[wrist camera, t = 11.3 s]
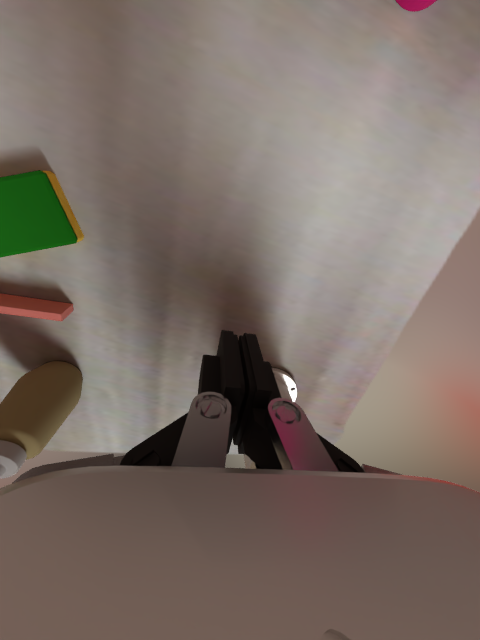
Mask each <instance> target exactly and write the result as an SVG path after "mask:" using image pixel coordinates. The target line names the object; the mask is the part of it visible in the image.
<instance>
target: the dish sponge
mask: <svg viewBox="0 0 480 640" xmlns="http://www.w3.org/2000/svg"><path fill="white" fill-rule="evenodd" d="M83 238H84V235H83V233H82V231H81V229H80V227H79V225H78V222H77V220H76V218H75V216H74V214H73V212H72V210H71V207H70V205H69V203H68V201H67V199H66V197H65V195H64V193H63V190H62V188H61V186H60V184H59V182H58V180H57V178H56V176H55V174H54V173H52V172H51V171H41V170H38V171H33V172H28V173H22V174H17V175H11V176H6V177H0V257H5V256H10V255H15V254H21V253H26V252H31V251H37V250H42V249H47V248H53V247H58V246H63V245H69V244H74V243H76V242H79V241H81V240H83Z"/></svg>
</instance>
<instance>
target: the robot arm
mask: <svg viewBox="0 0 480 640" xmlns="http://www.w3.org/2000/svg"><path fill="white" fill-rule="evenodd" d="M296 397H297V386H296V384H295V381H294V380H293V378H292V377H291V376H290V375H289V374H288V373H286V372H285V371H283V370H280V369H277V368H272V367H271V364H270V363H269V362H265V361H263V357H262V354H261V351H260V347H259V344H258V341H257V337H256V335H255V334H247V333H244V335H243V336H239V340H238V338H237V335H234V334H233V332H232V331H224V330H222V331H221V336H220V341H219V346H218V351H217V356H212V355H203V359H202V365H201V371H200V379H199V388H198V395H197V396H196V397H195V398H194V399H193V401H192V403H191V406H190V409H189V412H188V413H187V414H185V415H184V416H182V417H180V418H179V419H177V420H176V421H174V422H173V423H171V424H170V425H168V426H166V427H165V428H163V429H162V430H160V431H159V432H157V433H156V434H154V435H152V436H151V437H149V438H148V439H146V440H145V441H143V442H142V443H140V444H138V445H137V446H135V447H134V448H132V449H131V450H130V451H129V452H128V453H126V455H124V456H118V457H114V454H109V455H103V456H96V457H90V458H84V459H78V460H72V461H66V462H59V463H54V464H47V465H42V466H39V467H35V468H32V469H31V470H29V471H27V472H25V473H24V474H22V475H21V476H20V477H18V478H17V479H16V480H15V481H14V482H13V483H12V484H10V485H7V486H5V487H2V488H0V640H480V492H477V491H475V490H472V489H469V488H467V487H465V486H462V485H459V484H455V483H452V482H448V481H444V480H439V479H433V478H427V477H418V476H409V475H402V474H398V473H394V472H391V471H387V470H383V469H379V468H376V467H372V466H368V465H365V464H362V466H361V467H360V465H359V464H358V463H357V462H356V461H355V460H353V459H352V458H351V457H350V456H348V455H347V454H345V453H344V452H343V451H341V450H340V449H338V448H337V447H335V446H334V445H333V444H331V443H330V442H328V441H327V440H326V439H324V438H323V437H321V436H320V435H319V434H317V433H316V432H315V430H314V428H313V427H312V425H311V423H310V421H309V420H308V418H307V416H306V415H305V413H304V411H303V410H302V409H301V407H300V406H299V405H297V404H296V403H295V400H296ZM232 438H233V443H234V445H238V453H239V454H244V460H245V468H246V469H244V468H225V462H226V455H227V454H228V453H229V449H230V445H231V442H232Z"/></svg>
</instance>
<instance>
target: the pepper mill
mask: <svg viewBox="0 0 480 640" xmlns="http://www.w3.org/2000/svg"><path fill="white" fill-rule="evenodd" d="M435 1H437V0H396V2H397V3H398V4H399V5H400V6H401V7H402V8H403V9H406V10H408V11H420V10H423V9H425V8H427V7H429V6H430V5H432V4H433V3H434V2H435Z"/></svg>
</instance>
